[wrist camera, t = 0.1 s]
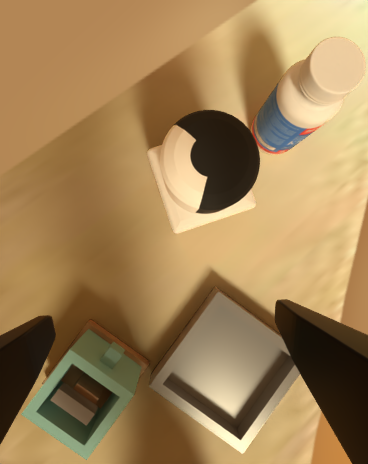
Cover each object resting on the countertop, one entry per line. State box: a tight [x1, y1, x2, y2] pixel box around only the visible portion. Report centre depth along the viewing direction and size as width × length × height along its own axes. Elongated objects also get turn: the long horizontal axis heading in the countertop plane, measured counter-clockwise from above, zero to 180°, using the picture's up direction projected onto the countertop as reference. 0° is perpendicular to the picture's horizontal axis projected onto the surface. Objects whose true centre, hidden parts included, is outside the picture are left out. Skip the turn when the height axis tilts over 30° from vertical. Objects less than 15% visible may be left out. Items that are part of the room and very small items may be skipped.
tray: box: [149, 287, 300, 454], centre depth 23 cm, size 12×12×2 cm
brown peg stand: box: [42, 319, 149, 426], centre depth 21 cm, size 8×8×5 cm
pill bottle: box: [251, 37, 366, 155], centre depth 20 cm, size 6×5×10 cm
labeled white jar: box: [147, 110, 260, 233], centre depth 18 cm, size 7×7×12 cm
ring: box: [21, 329, 142, 460], centre depth 21 cm, size 9×7×4 cm
